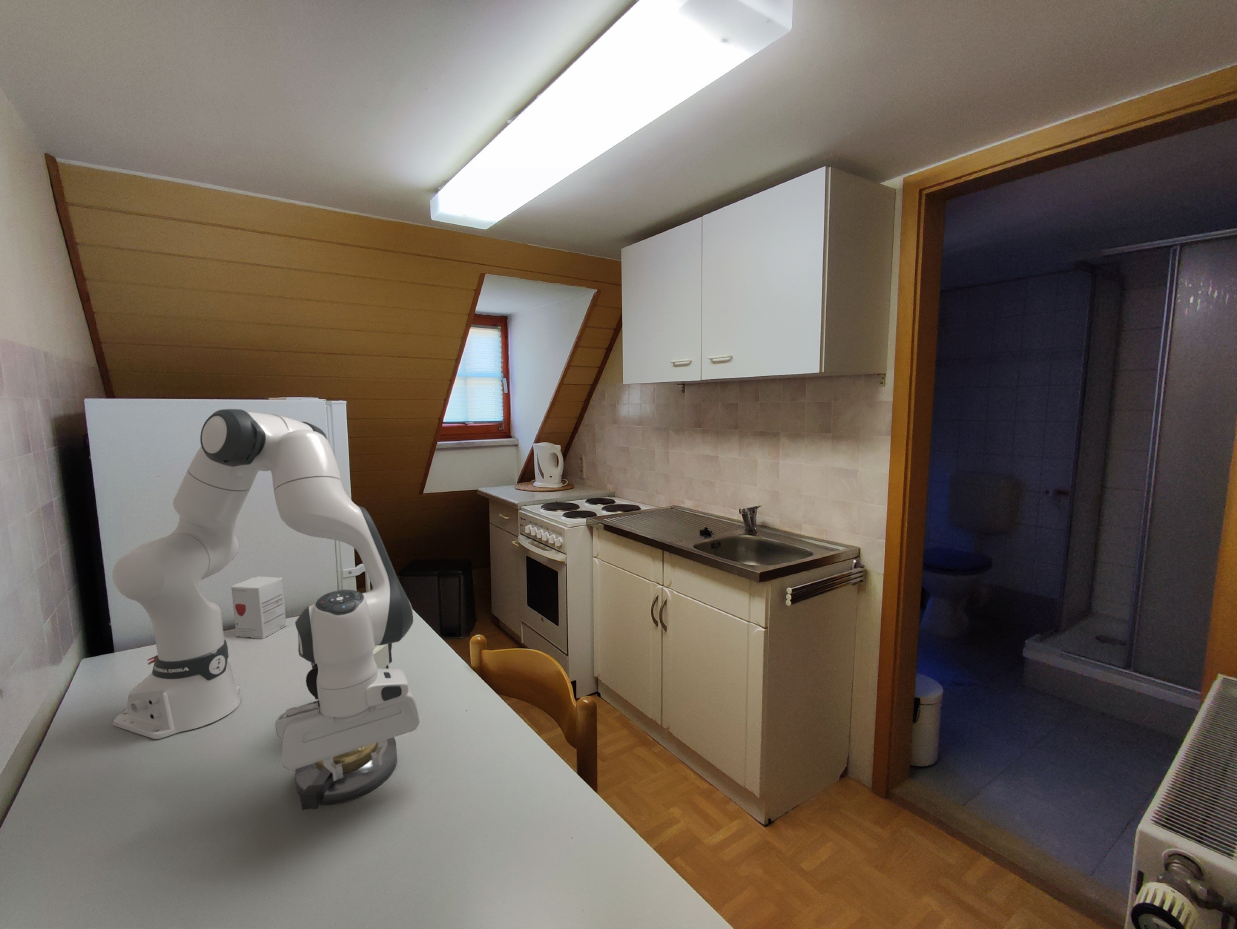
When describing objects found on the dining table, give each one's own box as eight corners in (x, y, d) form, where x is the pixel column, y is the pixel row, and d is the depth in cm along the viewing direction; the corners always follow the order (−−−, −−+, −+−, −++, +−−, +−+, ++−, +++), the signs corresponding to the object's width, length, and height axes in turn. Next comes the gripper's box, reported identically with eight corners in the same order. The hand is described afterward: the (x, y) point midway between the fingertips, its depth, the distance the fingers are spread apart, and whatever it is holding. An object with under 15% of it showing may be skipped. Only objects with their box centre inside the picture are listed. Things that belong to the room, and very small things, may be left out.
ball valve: (347, 741, 106) (340, 654, 104) (309, 736, 108) (301, 650, 106) (401, 691, 123) (396, 616, 121) (368, 688, 125) (362, 614, 123)
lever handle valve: (331, 738, 101) (329, 717, 101) (386, 735, 102) (384, 714, 102) (275, 813, 83) (272, 788, 83) (343, 809, 84) (341, 784, 83)
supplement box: (234, 637, 154) (229, 586, 152) (260, 624, 162) (255, 575, 160) (263, 639, 152) (258, 587, 150) (287, 626, 161) (283, 576, 159)
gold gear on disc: (273, 799, 91) (268, 745, 90) (338, 739, 106) (334, 693, 105) (361, 810, 88) (356, 754, 87) (414, 747, 104) (411, 699, 102)
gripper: (273, 723, 81) (283, 808, 82) (418, 682, 91) (424, 759, 93) (274, 703, 86) (284, 784, 88) (410, 666, 97) (417, 739, 98)
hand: (357, 771), depth 90 cm, fingers open, 5 cm apart
